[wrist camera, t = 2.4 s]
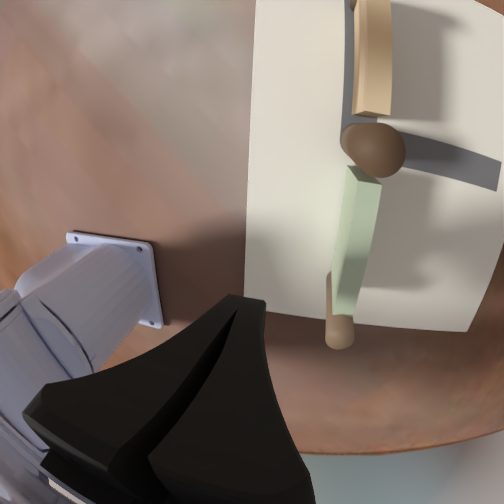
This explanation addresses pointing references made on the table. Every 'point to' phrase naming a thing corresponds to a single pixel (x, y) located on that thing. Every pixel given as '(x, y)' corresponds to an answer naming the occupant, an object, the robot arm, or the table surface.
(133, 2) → the table surface
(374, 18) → the fixed fence
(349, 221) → the hinged panel
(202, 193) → the table surface
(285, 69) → the board
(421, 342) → the table surface
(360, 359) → the table surface
